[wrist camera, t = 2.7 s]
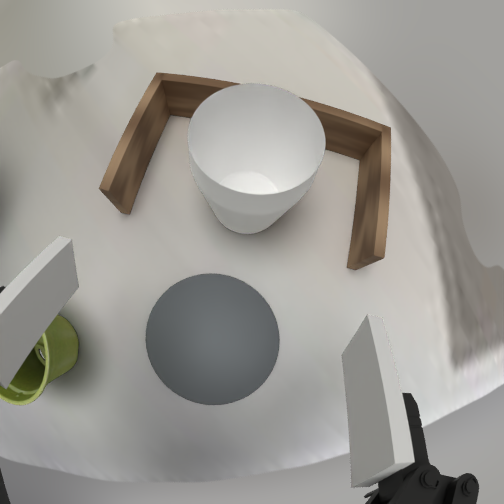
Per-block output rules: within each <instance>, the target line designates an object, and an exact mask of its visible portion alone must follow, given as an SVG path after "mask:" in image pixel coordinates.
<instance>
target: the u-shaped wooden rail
mask: <svg viewBox="0 0 504 504" xmlns="http://www.w3.org/2000/svg"><path fill="white" fill-rule="evenodd" d="M234 85H239V83H233V82H228V81H222V80H215V79H209V78H202V77H194V76H186V75H178V74H168V73H156V75H155V76H154V78H153V80H152V81H151V83H150V85H149V86H148V88H147V90H146V92H145V93H144V95H143V97H142V99H141V101H140V102H139V104H138V106H137V108H136V110H135V112H134V114H133V115H132V117H131V119H130V121H129V123H128V125H127V127H126V129H125V131H124V133H123V135H122V137H121V139H120V141H119V144H118V146H117V148H116V150H115V152H114V154H113V157H112V159H111V161H110V163H109V166H108V168H107V170H106V173H105V175H104V177H103V180H102V182H101V185H100V187H99V189H100V191H101V192H102V193H103V194H104V195H105V196H106V197H107V198H108V199H109V200H110V201H111V202H112V203H113V204H114V206H115V207H116V208H117V209H118V210H119V211H120V212H121V213H125V214H130V212H131V209H132V206H133V203H134V201H135V198H136V195H137V192H138V190H139V187H140V185H141V182H142V179H143V177H144V174H145V172H146V169H147V167H148V164H149V162H150V159H151V157H152V155H153V152H154V150H155V147H156V145H157V143H158V141H159V138H160V136H161V134H162V132H163V129H164V127H165V125H166V123H167V121H168V118H169V116H170V115H175V116H182V117H188V118H192V116H193V114H194V112H195V111H196V109H197V108H198V107H199V106H200V104H201V103H202V102H203V101H204V100H206V99H207V98H208V97H209V96H211V95H212V94H214V93H216V92H218V91H220V90H222V89H224V88H227V87H230V86H234ZM299 98H300V97H299ZM301 99H302V100H303V101H304V102H306V103H307V104H308V105H309V106H310V107H311V108H312V110H313V111H314V112H315V113H316V115H317V116H318V118H319V120H320V122H321V124H322V126H323V129H324V133H325V142H326V145H325V149H327V150H330V151H333V152H337V153H340V154H343V155H346V156H349V157H352V158H355V159H358V160H360V164H359V175H358V186H357V196H356V205H355V213H354V222H353V229H352V237H351V244H350V251H349V257H348V264H347V268H350V269H354V270H357V269H359V268H362V267H364V266H367V265H369V264H372V263H374V262H376V261H379V260H381V259H383V258H384V256H385V247H386V237H387V226H388V213H389V197H390V174H391V128H390V127H388V126H385V125H382V124H380V123H377V122H375V121H372V120H369V119H367V118H364V117H361V116H358V115H355V114H352V113H349V112H347V111H344V110H340V109H337V108H334V107H331V106H328V105H325V104H321V103H318V102H314V101H311V100H307V99H304V98H301Z"/></svg>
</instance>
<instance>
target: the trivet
mask: <svg viewBox="0 0 504 504" xmlns="http://www.w3.org/2000/svg"><path fill="white" fill-rule="evenodd" d="M146 348H147V352H148V357H149V359H150V362H151V365H152V367H153V369H154V370H155V372H156V374H157V375H158V377H159V378H160V379H161V380H162V382H163V383H164V384H165V385H166V386H167V387H168V388H170V389H171V390H172V391H173V392H175V393H176V394H178V395H179V396H181V397H183V398H185V399H187V400H190V401H193V402H196V403H201V404H207V405H221V404H227V403H232V402H235V401H238V400H240V399H242V398H245V397H247V396H248V395H250V394H251V393H253V392H254V391H255V390H257V389H258V388H259V387H260V386H261V385H262V384H263V383H264V382H265V380H266V379H267V378H268V376H269V375H270V373H271V371H272V369H273V367H274V365H275V362H276V359H277V356H278V350H279V330H278V326H277V322H276V319H275V316H274V314H273V312H272V310H271V308H270V306H269V305H268V303H267V302H266V301H265V299H264V298H263V297H262V296H261V295H260V294H259V293H258V292H257V291H256V290H255V289H253V288H252V287H251V286H249V285H248V284H246V283H245V282H243V281H241V280H238V279H236V278H233V277H230V276H227V275H221V274H200V275H196V276H192V277H189V278H186V279H184V280H182V281H180V282H178V283H176V284H175V285H173V286H172V287H170V288H169V289H168V290H167V291H166V292H165V293H164V294H163V295H162V296H161V297H160V298H159V299H158V301H157V302H156V304H155V306H154V307H153V309H152V311H151V314H150V316H149V319H148V323H147V328H146Z"/></svg>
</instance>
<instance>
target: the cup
mask: <svg viewBox="0 0 504 504" xmlns="http://www.w3.org/2000/svg"><path fill="white" fill-rule="evenodd" d="M325 145H326V142H325V133H324V129H323V126H322V124H321V122H320V120H319V118H318V116H317V115H316V113H315V112H314V111H313V110H312V108H311V107H310V106H309V105H308V104H307V103H306V102H304V101H303V100H302V99H301V98H299V97H298V96H296V95H294V94H293V93H291V92H289V91H287V90H284V89H282V88H279V87H276V86H272V85H267V84H258V83H247V84H239V85H234V86H230V87H227V88H224V89H222V90H220V91H218V92H216V93H214V94H212V95H211V96H209V97H208V98H207V99H206V100H204V101H203V102H202V103H201V104H200V106H199V107H198V108H197V109H196V111H195V112H194V114H193V116H192V118H191V121H190V123H189V128H188V147H189V161H190V168H191V172H192V175H193V177H194V180H195V182H196V184H197V185H198V187H199V189H200V191H201V192H202V194H203V196H204V197H205V199H206V201H207V202H208V204H209V205H210V207H211V209H212V210H213V212H214V214H215V215H216V217H217V218H218V220H219V221H220V222H221V223H222V224H223V225H224V226H225V227H226V228H228V229H230V230H231V231H234V232H237V233H241V234H253V233H258V232H261V231H263V230H265V229H266V228H268V227H269V226H270V225H272V224H273V223H274V222H275V221H276V220H277V219H278V218H280V217H281V216H282V215H283V214H284V213H285V212H287V211H288V210H289V209H290V208H291V207H292V206H293V205H295V204H296V203H297V202H298V201H299V200H300V199H301V198H302V197H303V196H304V195H305V193H306V192H307V191H308V189H309V188H310V186H311V185H312V183H313V180H314V178H315V175H316V172H317V170H318V168H319V166H320V164H321V162H322V159H323V156H324V152H325Z"/></svg>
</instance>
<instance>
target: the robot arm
mask: <svg viewBox="0 0 504 504" xmlns="http://www.w3.org/2000/svg"><path fill="white" fill-rule="evenodd" d="M78 287H79V284H78V279H77V272H76V266H75V259H74V252H73V244H72V239H69V238H65V237H62V236H59V237H58V238H56V239H55V240H54V241H53V242H52V243H51V244H50V245H49V246H48V247H46V248H45V249H44V250H43V251H42V252H41V253H40V254H39V255H38V256H37V257H36V258H35V259H34V260H33V261H32V262H31V263H30V264H29V265H27V266H26V267H25V268H24V269H23V270H22V271H21V272H20V273H19V274H18V275H17V276H16V277H15V279H14V280H13V281H12V282H11V283H10V284H9V285H8V286H7V287H4V286H2V287H0V386H2V387H3V388H5V389H7V387H8V386H9V384H10V382H11V381H12V379H13V378H14V376H15V374H16V373H17V371H18V370H19V368H20V367H21V365H22V364H23V362H24V361H25V359H26V358H27V356H28V355H29V353H30V352H31V350H32V349H33V347H34V346H35V344H36V343H37V342H38V340H39V339H40V337H41V336H42V335H43V333H44V332H45V330H46V329H47V328H48V326H49V325H50V324H51V322H52V321H53V320H54V318H55V317H56V316H57V314H58V313H59V312H60V310H61V309H62V308H63V306H64V305H65V304H66V303H67V301H68V300H69V299H70V297H71V296H72V295H73V294H74V292H75V291H76V290H77V289H78ZM342 363H343V372H344V381H345V391H346V402H347V414H348V428H349V443H350V464H351V487H370V486H371V485H373V484H376V483H378V487H379V488H378V489H376V490H374V491H372V492H370V493H367V494H366V495H365V496H364V497H365V498H367V497H369V496H371V497H370V498H369V500H368V501H367V502H366V503H365V504H476V502H477V497H478V492H479V484H478V481H477V479H476V477H475V476H474V475H472V474H469V473H466V474H463V475H461V476H459V477H458V478H453V477H449V476H444V475H441V474H440V472H439V470H438V469H437V468H436V467H435V466H433V465H430V463H429V460H428V455H427V449H426V444H425V438H424V433H423V428H422V427H421V426H422V423H421V419H420V418H419V417H420V414H419V410H418V405H417V403H416V401H415V400H414V398H413V396H412V395H411V393H402V390H401V386H400V381H399V377H398V373H397V369H396V365H395V361H394V357H393V353H392V349H391V346H390V342H389V338H388V335H387V331H386V328H385V324H384V321H383V317H378V316H373V315H368V314H367V316H366V317H365V319H364V321H363V322H362V324H361V326H360V327H359V329H358V330H357V332H356V334H355V335H354V337H353V338H352V340H351V341H350V343H349V345H348V346H347V348H346V349H345V351H344V352H343V354H342ZM0 504H10V501H9V498H8V494H7V491H6V488H5V484H4V481H3V477H2V473H1V469H0Z"/></svg>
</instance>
